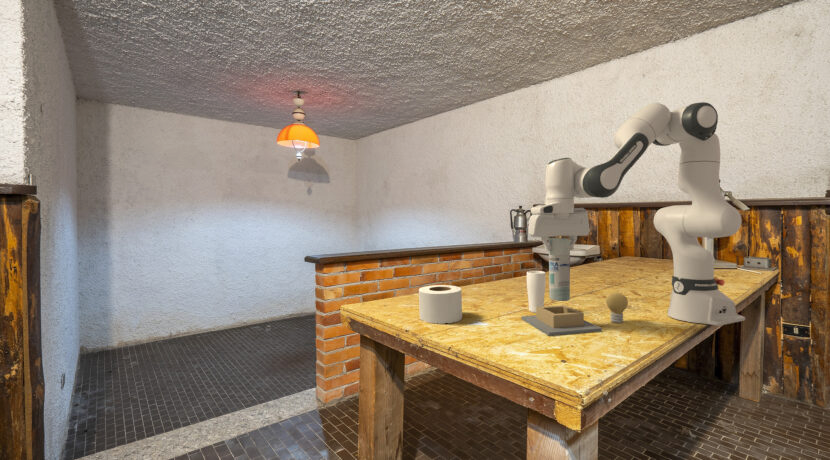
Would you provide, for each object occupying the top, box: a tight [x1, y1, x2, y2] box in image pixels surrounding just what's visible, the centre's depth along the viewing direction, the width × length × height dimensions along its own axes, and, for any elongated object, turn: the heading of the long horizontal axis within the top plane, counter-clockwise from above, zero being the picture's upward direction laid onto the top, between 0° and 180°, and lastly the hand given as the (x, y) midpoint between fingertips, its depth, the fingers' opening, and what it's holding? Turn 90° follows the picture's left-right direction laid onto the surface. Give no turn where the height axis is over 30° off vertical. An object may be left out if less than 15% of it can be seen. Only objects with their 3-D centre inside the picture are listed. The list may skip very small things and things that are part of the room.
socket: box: [520, 304, 603, 337], centre depth 121 cm, size 18×18×5 cm
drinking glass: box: [526, 270, 546, 314], centre depth 138 cm, size 7×7×15 cm
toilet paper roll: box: [418, 284, 463, 325], centre depth 132 cm, size 16×15×11 cm
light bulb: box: [605, 292, 629, 324], centre depth 123 cm, size 6×6×10 cm
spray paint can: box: [548, 237, 571, 302], centre depth 120 cm, size 6×6×20 cm
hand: (559, 250), depth 120 cm, fingers closed on spray paint can, 6 cm apart
